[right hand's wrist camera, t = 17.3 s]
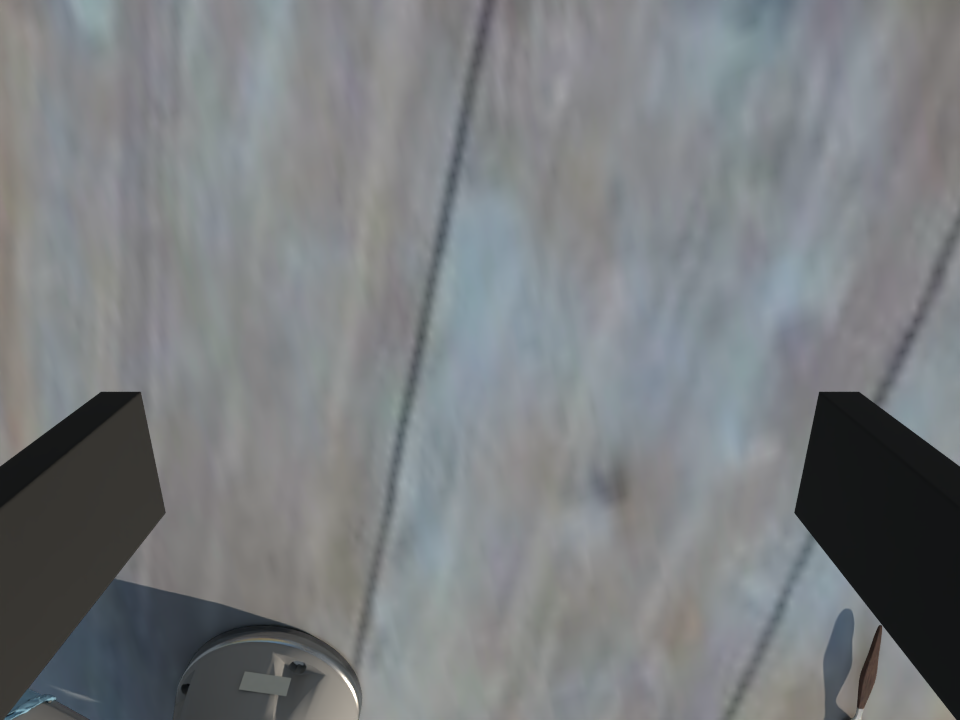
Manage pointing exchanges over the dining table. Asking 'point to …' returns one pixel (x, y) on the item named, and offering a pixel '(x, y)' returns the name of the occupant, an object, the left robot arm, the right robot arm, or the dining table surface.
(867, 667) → the fork
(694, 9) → the dining table surface
